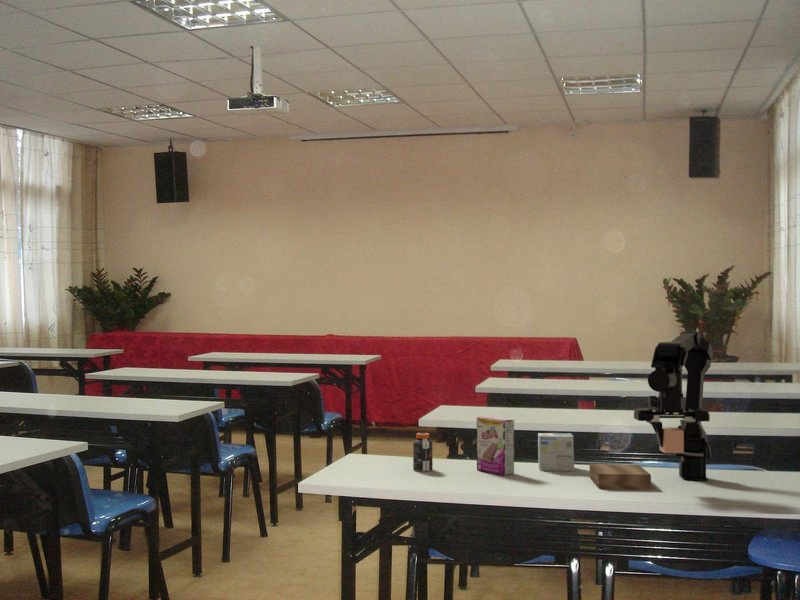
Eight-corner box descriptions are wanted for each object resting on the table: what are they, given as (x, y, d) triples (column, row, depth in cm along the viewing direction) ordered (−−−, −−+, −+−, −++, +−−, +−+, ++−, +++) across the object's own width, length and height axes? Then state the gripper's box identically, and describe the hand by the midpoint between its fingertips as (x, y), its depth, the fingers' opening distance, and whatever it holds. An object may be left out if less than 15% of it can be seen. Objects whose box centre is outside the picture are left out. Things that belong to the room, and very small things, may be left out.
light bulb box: (572, 467, 242) (571, 432, 243) (574, 471, 236) (574, 436, 236) (537, 466, 243) (537, 432, 244) (539, 470, 237) (539, 435, 237)
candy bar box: (475, 470, 237) (475, 417, 237) (486, 468, 241) (486, 415, 241) (504, 476, 229) (504, 420, 229) (515, 473, 232) (514, 419, 233)
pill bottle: (433, 472, 235) (433, 434, 235) (413, 472, 235) (413, 434, 235) (432, 468, 241) (431, 431, 241) (412, 468, 241) (412, 431, 241)
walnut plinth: (638, 478, 225) (638, 464, 225) (651, 489, 211) (650, 474, 211) (589, 477, 226) (589, 464, 226) (599, 488, 212) (598, 474, 212)
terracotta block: (678, 450, 211) (677, 428, 212) (683, 453, 206) (683, 430, 207) (659, 449, 212) (659, 427, 212) (664, 453, 207) (664, 430, 207)
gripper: (696, 386, 217) (697, 442, 217) (628, 386, 218) (629, 441, 218) (710, 390, 206) (710, 449, 206) (638, 389, 207) (639, 448, 207)
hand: (671, 446), depth 209 cm, fingers closed on terracotta block, 5 cm apart
